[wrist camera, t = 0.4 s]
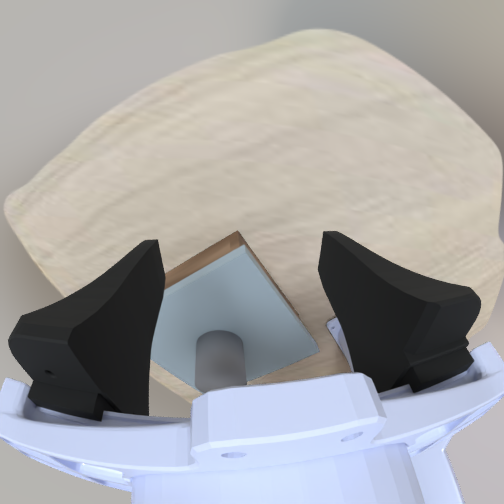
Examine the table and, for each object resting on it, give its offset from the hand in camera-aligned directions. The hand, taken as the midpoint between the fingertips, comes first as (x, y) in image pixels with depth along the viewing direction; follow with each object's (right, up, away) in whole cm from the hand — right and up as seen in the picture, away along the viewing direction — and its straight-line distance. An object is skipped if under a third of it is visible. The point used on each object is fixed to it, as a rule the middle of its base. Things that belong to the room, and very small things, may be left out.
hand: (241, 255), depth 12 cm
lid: (-2, -7, +12) cm, 14 cm away
